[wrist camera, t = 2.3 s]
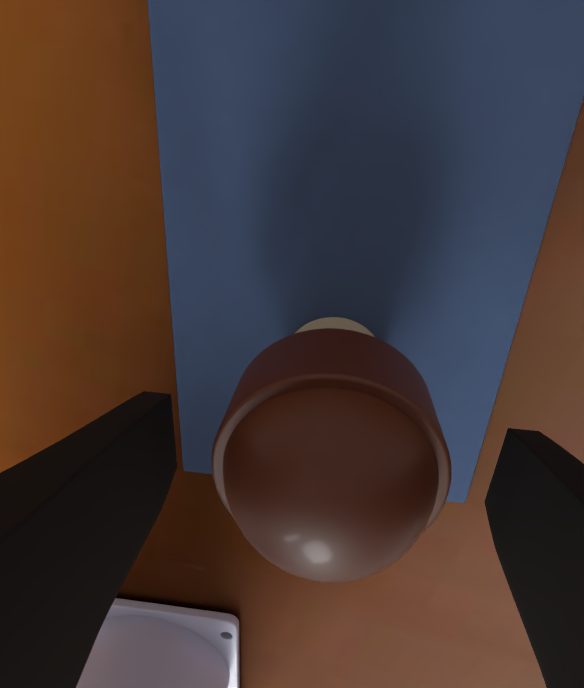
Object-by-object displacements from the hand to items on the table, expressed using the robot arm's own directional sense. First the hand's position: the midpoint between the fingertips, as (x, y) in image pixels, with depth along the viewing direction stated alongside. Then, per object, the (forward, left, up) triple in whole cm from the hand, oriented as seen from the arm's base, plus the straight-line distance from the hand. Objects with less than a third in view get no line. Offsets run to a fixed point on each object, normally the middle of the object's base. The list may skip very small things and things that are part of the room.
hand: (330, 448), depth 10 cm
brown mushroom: (0, 0, -4) cm, 4 cm away
